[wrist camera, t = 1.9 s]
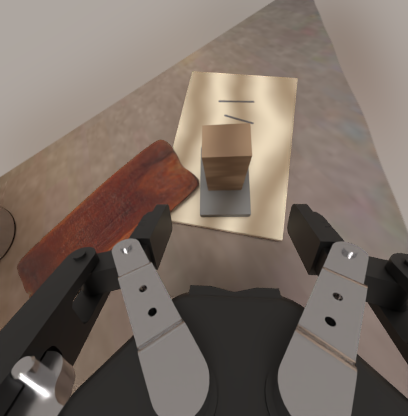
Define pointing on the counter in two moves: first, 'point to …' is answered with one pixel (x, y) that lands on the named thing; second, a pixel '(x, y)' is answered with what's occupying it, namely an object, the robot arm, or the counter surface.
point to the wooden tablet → (111, 211)
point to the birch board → (260, 137)
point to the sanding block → (225, 170)
